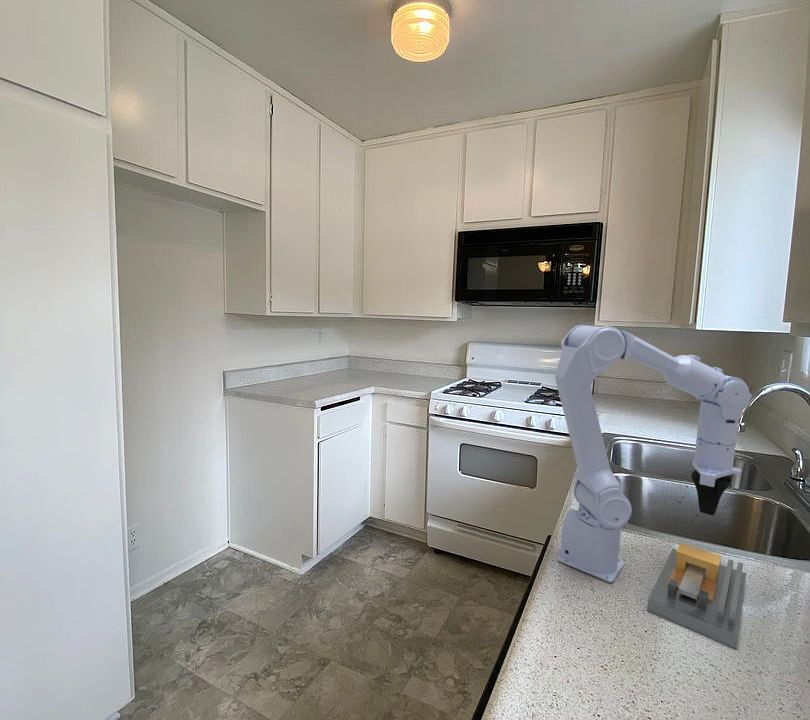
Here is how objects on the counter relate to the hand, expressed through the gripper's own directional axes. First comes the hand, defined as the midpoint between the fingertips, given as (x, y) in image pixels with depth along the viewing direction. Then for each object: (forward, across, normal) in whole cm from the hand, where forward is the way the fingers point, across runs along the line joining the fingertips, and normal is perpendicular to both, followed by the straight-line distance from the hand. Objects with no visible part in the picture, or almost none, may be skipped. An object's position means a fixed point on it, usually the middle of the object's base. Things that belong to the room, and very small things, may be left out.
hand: (707, 512), depth 78 cm
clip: (+8, -7, 0) cm, 11 cm away
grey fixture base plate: (+10, -11, -1) cm, 15 cm away
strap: (+8, -12, 0) cm, 14 cm away
